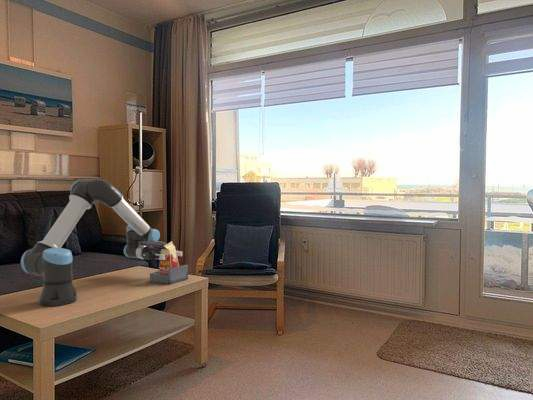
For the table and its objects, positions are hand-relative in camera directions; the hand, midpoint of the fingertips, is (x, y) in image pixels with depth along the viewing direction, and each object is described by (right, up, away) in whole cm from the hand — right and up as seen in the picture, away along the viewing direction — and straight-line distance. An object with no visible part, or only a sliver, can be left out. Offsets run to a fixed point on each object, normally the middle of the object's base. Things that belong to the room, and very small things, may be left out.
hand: (173, 255), depth 218 cm
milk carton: (-3, -13, +2) cm, 13 cm away
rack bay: (-3, -14, +2) cm, 14 cm away
